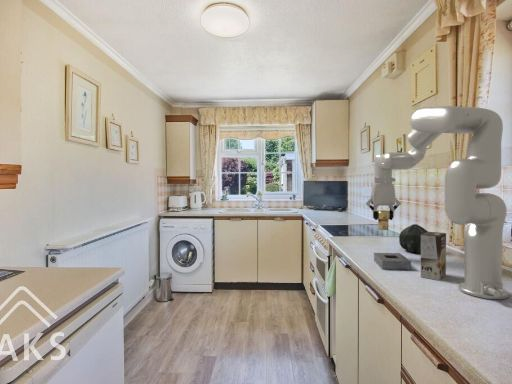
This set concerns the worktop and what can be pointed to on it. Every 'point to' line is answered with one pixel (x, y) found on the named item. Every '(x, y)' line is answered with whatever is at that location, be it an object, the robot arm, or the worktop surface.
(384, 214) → the end cover
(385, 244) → the worktop surface
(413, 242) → the squash
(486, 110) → the robot arm
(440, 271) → the coffee box
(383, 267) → the block
